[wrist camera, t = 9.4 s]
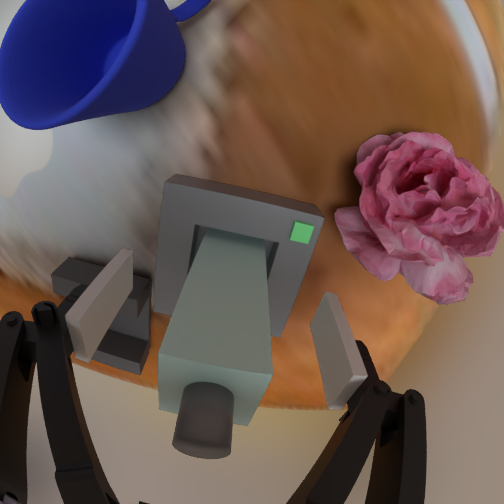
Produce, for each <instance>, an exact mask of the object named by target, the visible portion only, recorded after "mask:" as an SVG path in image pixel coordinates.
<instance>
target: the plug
mask: <svg viewBox="0 0 504 504" xmlns="http://www.w3.org/2000/svg"><path fill="white" fill-rule="evenodd" d="M272 376H273V366H272V349H271V332H270V316H269V300H268V285H267V270H266V256H265V242H264V239H260V238H256V237H251V236H247V235H242V234H238V233H233V232H229V231H224V230H219V229H215V228H210V227H208V228H207V230H206V233H205V235H204V237H203V240H202V242H201V244H200V247H199V249H198V252H197V254H196V256H195V259H194V261H193V264H192V266H191V269H190V271H189V273H188V276H187V278H186V281H185V283H184V286H183V289H182V291H181V294H180V296H179V299H178V301H177V304H176V306H175V309H174V312H173V314H172V317H171V320H170V322H169V325H168V328H167V330H166V333H165V336H164V339H163V341H162V344H161V347H160V350H159V352H158V391H159V409H160V410H164V411H168V412H172V413H176V414H178V418H177V422H176V427H175V432H174V437H173V442H172V444H173V446H174V448H175V449H177V450H178V451H180V452H182V453H184V454H186V455H189V456H193V457H197V458H204V459H219V458H224V457H226V456H228V455H230V453H231V441H232V426H233V424H237V425H245V426H248V424H249V422H250V421H251V418H252V417H253V415H254V413H255V411H256V409H257V407H258V405H259V403H260V401H261V399H262V397H263V395H264V393H265V391H266V389H267V387H268V385H269V382H270V380H271V378H272Z"/></svg>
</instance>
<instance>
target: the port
mask: <svg viewBox="0 0 504 504" xmlns="http://www.w3.org/2000/svg"><path fill="white" fill-rule="evenodd" d="M324 219H325V217H324V216H323V215H322V213H321V212H320V210H319V209H318V207H317V206H315V205H312V204H308V203H304V202H300V201H296V200H292V199H288V198H284V197H280V196H276V195H272V194H268V193H264V192H260V191H255V190H251V189H247V188H242V187H238V186H233V185H228V184H224V183H219V182H214V181H209V180H204V179H199V178H194V177H189V176H184V175H178V174H175V175H174V176H173V177H171V178H170V179H168V180H167V181H165V184H164V191H163V198H162V206H161V214H160V223H159V233H158V244H157V255H156V269H155V285H154V308H153V311H154V312H158V313H162V314H166V315H170V316H172V314H173V312H174V309H175V306H176V304H177V301H178V299H179V296H180V294H181V291H182V289H183V286H184V283H185V281H186V278H187V276H188V273H189V271H190V269H191V266H192V264H193V261H194V259H195V256H196V254H197V252H198V249H199V247H200V244H201V242H202V240H203V237H204V235H205V233H206V230H207V228H208V227H210V228H215V229H219V230H224V231H229V232H233V233H238V234H242V235H247V236H251V237H256V238H260V239H264V242H265V256H266V270H267V285H268V300H269V316H270V332H271V336H275V337H281V334H282V332H283V329H284V327H285V324H286V322H287V319H288V317H289V314H290V312H291V309H292V307H293V304H294V302H295V299H296V296H297V294H298V291H299V289H300V286H301V283H302V281H303V278H304V275H305V273H306V270H307V267H308V264H309V262H310V259H311V256H312V253H313V250H314V248H315V245H316V242H317V239H318V236H319V233H320V230H321V227H322V224H323V222H324Z"/></svg>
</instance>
